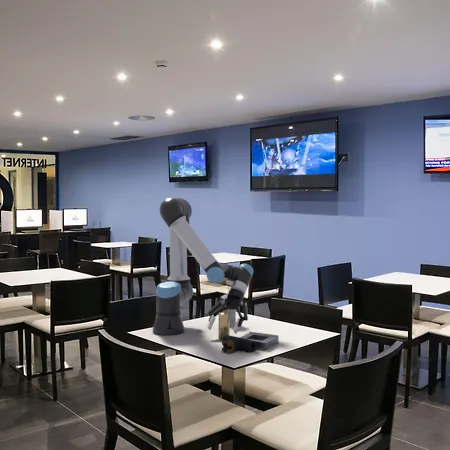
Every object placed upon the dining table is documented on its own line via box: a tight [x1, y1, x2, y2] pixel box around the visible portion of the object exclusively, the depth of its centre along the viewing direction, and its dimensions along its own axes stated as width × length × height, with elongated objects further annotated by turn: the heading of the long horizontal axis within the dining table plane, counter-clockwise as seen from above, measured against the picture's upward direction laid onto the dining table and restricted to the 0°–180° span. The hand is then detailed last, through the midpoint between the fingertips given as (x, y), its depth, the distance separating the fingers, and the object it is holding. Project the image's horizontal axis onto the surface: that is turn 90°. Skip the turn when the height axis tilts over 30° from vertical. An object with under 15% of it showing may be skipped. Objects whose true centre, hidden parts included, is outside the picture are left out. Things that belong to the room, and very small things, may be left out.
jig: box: [239, 331, 279, 351], centre depth 226 cm, size 14×14×3 cm
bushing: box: [217, 312, 230, 342], centre depth 234 cm, size 5×5×12 cm
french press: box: [220, 290, 237, 327], centre depth 266 cm, size 10×12×25 cm
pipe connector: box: [221, 334, 257, 354], centre depth 216 cm, size 12×5×15 cm
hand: (221, 330), depth 232 cm, fingers open, 13 cm apart
